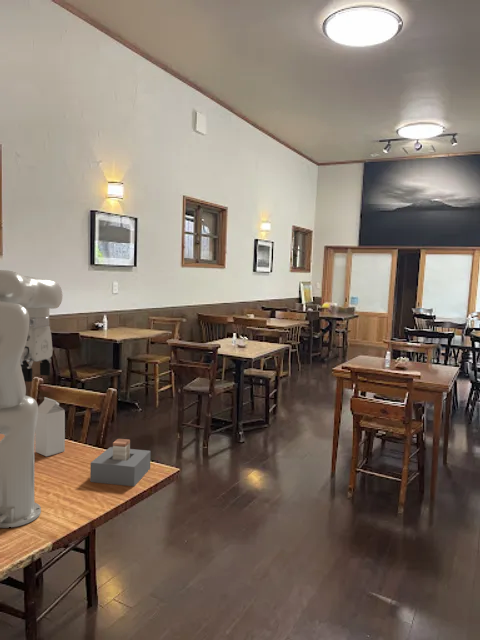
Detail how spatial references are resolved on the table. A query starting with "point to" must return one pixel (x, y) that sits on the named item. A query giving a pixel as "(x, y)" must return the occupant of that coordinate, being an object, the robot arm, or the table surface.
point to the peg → (121, 449)
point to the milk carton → (50, 428)
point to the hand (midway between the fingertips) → (36, 378)
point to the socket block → (120, 468)
